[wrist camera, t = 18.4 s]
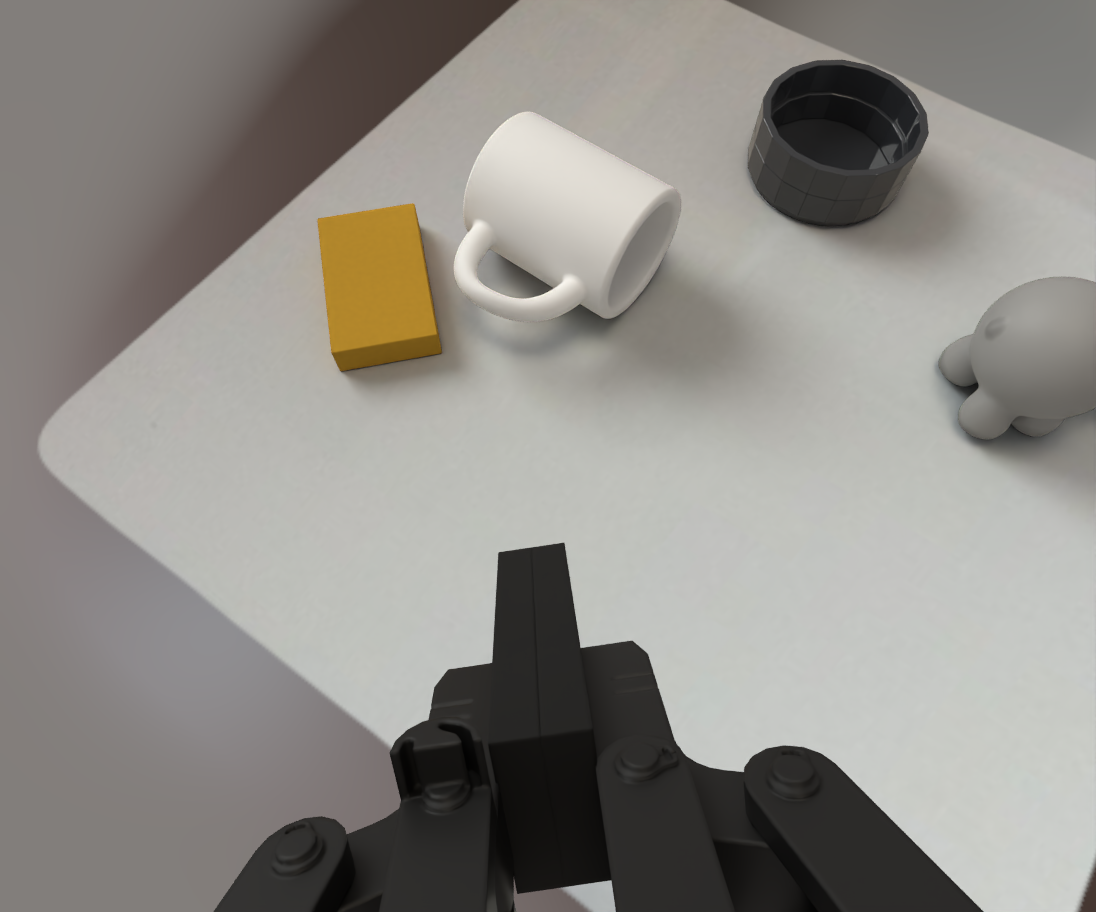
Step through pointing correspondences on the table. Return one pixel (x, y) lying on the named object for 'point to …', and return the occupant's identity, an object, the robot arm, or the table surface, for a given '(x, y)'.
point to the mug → (562, 221)
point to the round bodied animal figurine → (1028, 359)
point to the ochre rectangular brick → (377, 287)
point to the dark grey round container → (835, 141)
